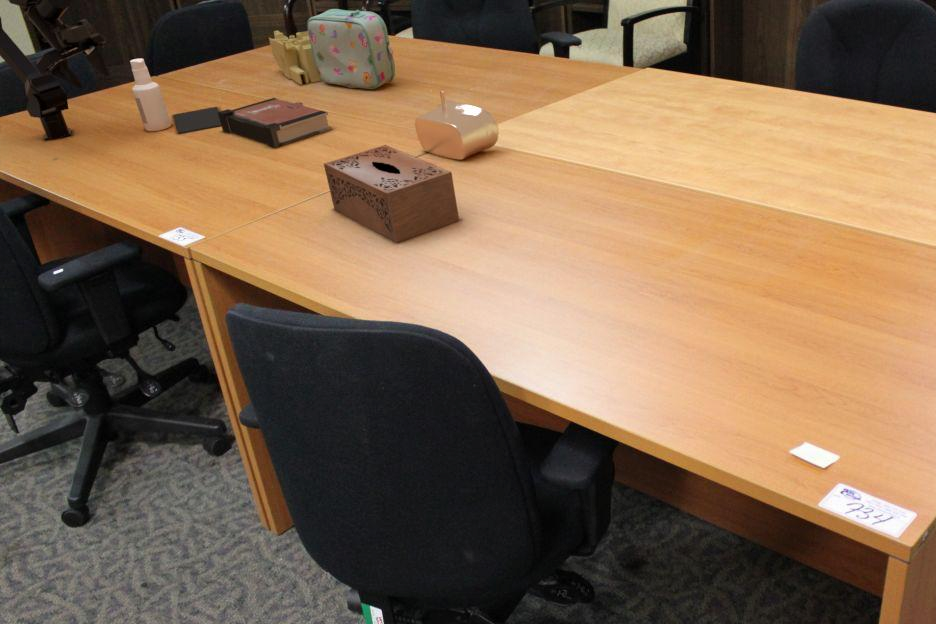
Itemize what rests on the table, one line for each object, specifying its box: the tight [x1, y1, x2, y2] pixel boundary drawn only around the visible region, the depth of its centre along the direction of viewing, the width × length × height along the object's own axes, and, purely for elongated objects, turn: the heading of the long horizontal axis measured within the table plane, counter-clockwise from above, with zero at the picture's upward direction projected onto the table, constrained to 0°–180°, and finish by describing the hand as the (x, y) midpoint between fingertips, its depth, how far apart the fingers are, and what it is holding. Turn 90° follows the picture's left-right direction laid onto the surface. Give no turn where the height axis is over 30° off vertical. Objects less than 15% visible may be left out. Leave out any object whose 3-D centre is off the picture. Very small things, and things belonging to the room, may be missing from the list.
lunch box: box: [307, 8, 396, 90], centre depth 282 cm, size 27×10×21 cm, turn 58°
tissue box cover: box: [323, 144, 460, 244], centre depth 196 cm, size 26×14×10 cm, turn 40°
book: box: [218, 97, 332, 149], centre depth 253 cm, size 26×18×5 cm
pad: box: [172, 106, 222, 135], centre depth 268 cm, size 20×12×1 cm, turn 24°
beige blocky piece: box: [268, 30, 324, 86], centre depth 301 cm, size 24×16×20 cm
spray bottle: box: [129, 58, 172, 132], centre depth 259 cm, size 7×7×18 cm
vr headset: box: [414, 90, 500, 161], centre depth 226 cm, size 18×11×14 cm, turn 49°
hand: (95, 82), depth 249 cm, fingers open, 9 cm apart
